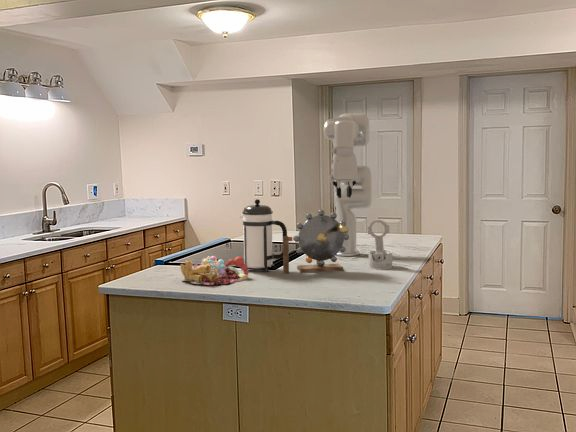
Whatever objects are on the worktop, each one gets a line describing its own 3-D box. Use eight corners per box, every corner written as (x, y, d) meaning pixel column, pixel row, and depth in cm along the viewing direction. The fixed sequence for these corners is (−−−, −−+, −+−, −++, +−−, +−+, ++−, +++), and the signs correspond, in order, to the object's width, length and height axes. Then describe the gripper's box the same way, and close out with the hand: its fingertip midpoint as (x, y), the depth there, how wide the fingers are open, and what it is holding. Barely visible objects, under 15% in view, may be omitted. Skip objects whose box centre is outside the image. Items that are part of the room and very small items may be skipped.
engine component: (390, 269, 250) (393, 265, 259) (390, 221, 248) (394, 218, 257) (364, 268, 253) (369, 263, 263) (364, 220, 251) (369, 217, 261)
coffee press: (250, 275, 243) (249, 201, 239) (235, 268, 257) (234, 198, 254) (288, 270, 251) (287, 199, 247) (271, 264, 265) (270, 196, 261)
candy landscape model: (217, 289, 220) (217, 265, 219) (170, 282, 232) (169, 259, 231) (256, 276, 241) (255, 254, 240) (210, 271, 253) (210, 249, 252)
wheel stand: (338, 266, 257) (337, 232, 255) (343, 270, 249) (343, 234, 248) (281, 269, 253) (280, 234, 251) (284, 273, 245) (283, 236, 243)
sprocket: (347, 263, 252) (347, 208, 249) (355, 268, 241) (355, 211, 239) (293, 266, 248) (292, 210, 245) (298, 271, 237) (298, 213, 234)
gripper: (326, 152, 234) (326, 198, 236) (366, 151, 237) (366, 197, 239) (321, 152, 241) (322, 197, 243) (360, 151, 244) (360, 196, 246)
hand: (344, 197), depth 241 cm, fingers open, 3 cm apart
